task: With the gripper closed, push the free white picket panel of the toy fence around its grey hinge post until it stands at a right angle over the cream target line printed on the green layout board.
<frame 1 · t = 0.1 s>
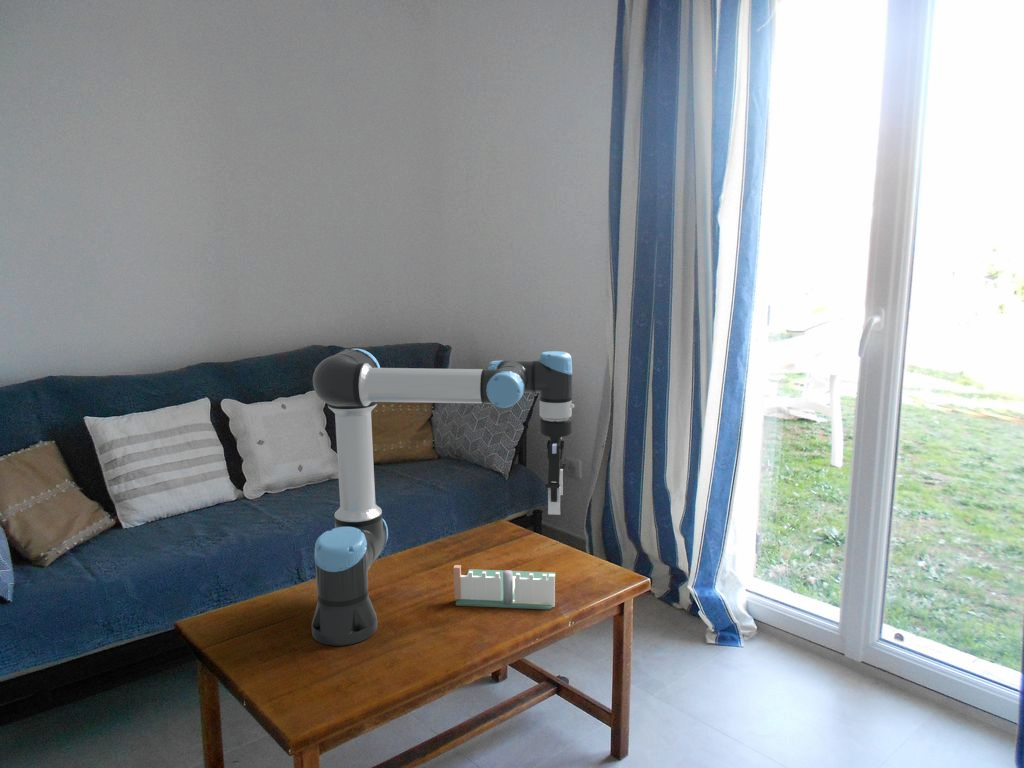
hand: (555, 504, 180), 28 cm above the table, fingers open, 13 cm apart
fixed fence: (508, 603, 189), resting on layout board
layout board: (507, 589, 197), on the table
folding panel: (477, 583, 188), point 5 cm above the table, hinge at 0.0°
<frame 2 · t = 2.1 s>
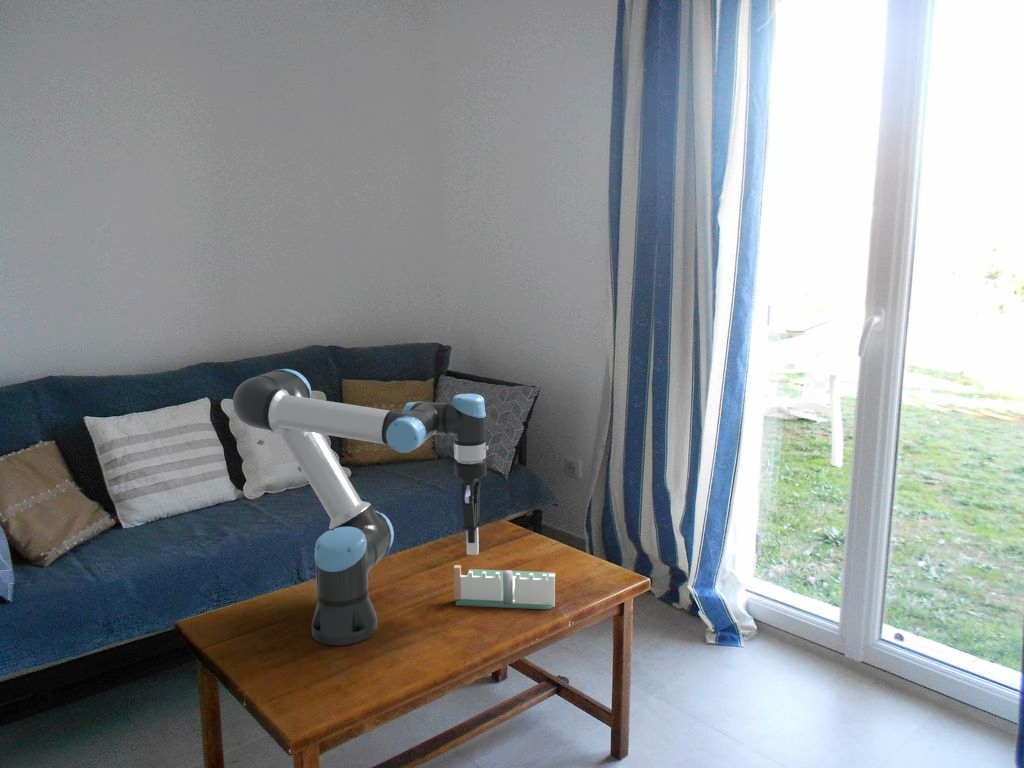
hand: (472, 553, 181), 16 cm above the table, fingers closed
nothing on the table moved.
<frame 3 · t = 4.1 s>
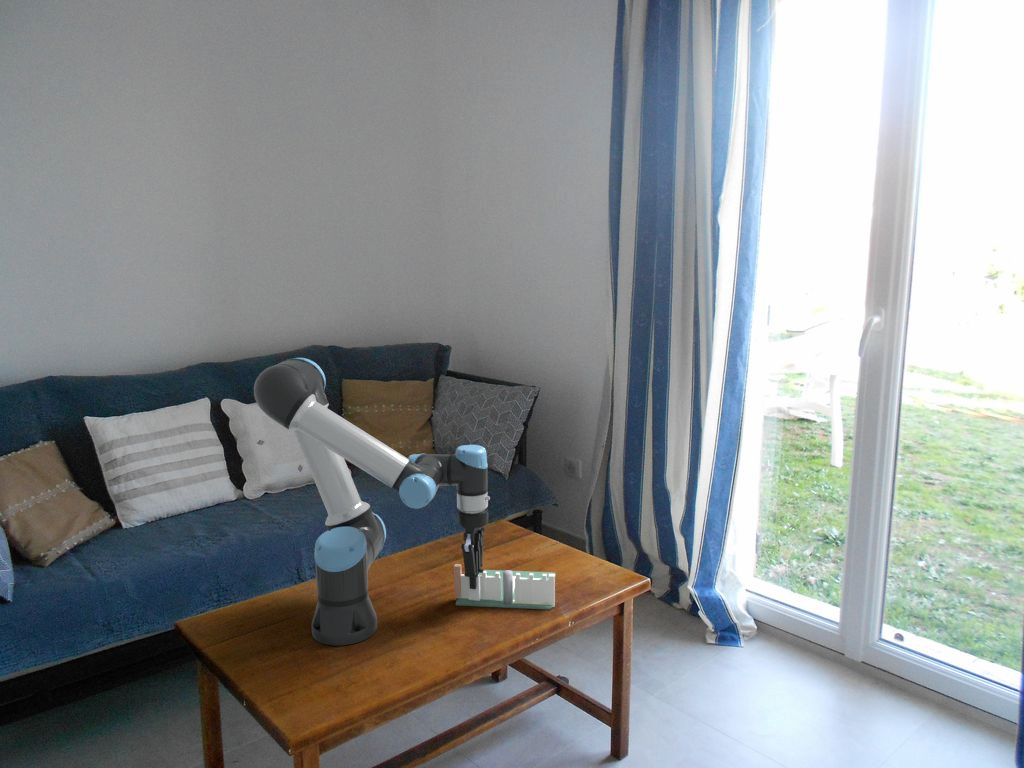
hand: (474, 598, 187), 2 cm above the table, fingers closed
folding panel: (477, 582, 189), point 5 cm above the table, hinge at 2.9°, touching gripper
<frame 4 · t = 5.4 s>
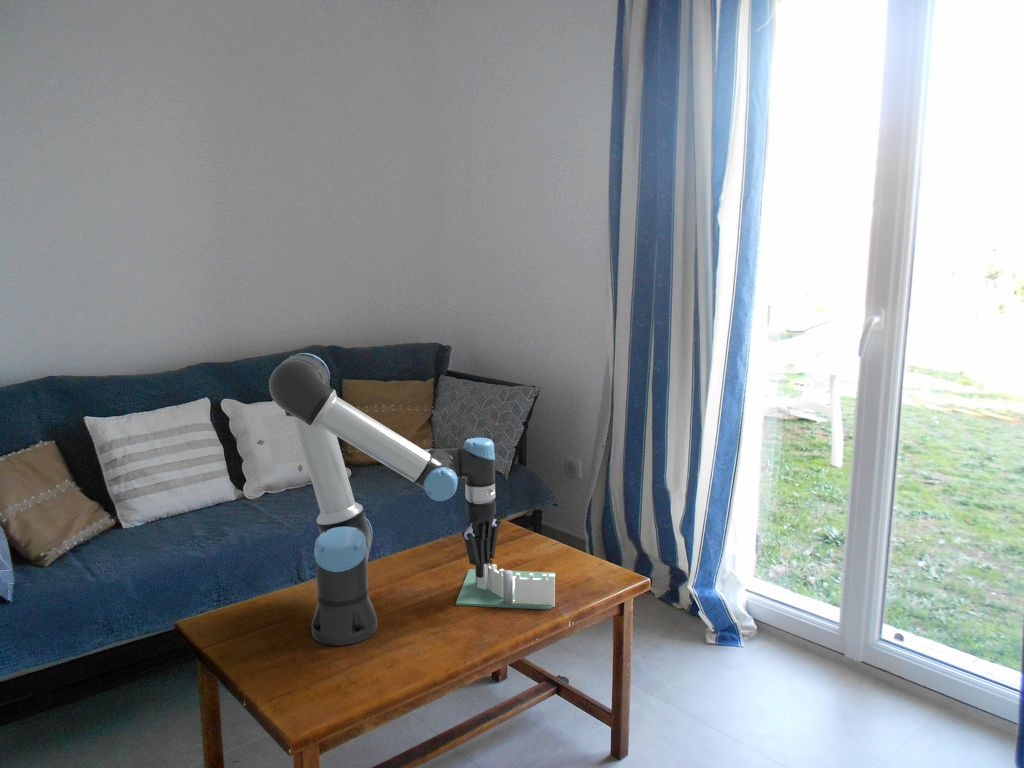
hand: (482, 587, 192), 2 cm above the table, fingers closed
folding panel: (490, 573, 194), point 5 cm above the table, hinge at 47.3°, touching gripper
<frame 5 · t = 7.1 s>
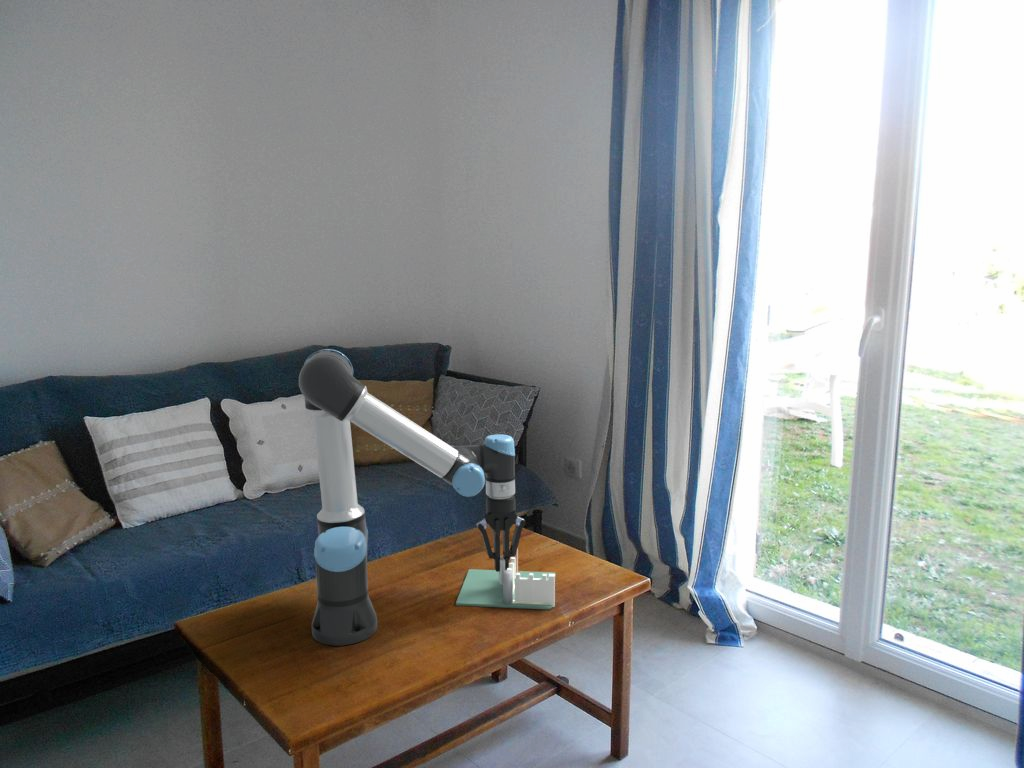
hand: (502, 582, 196), 2 cm above the table, fingers closed
folding panel: (512, 571, 195), point 5 cm above the table, hinge at 91.4°, touching gripper
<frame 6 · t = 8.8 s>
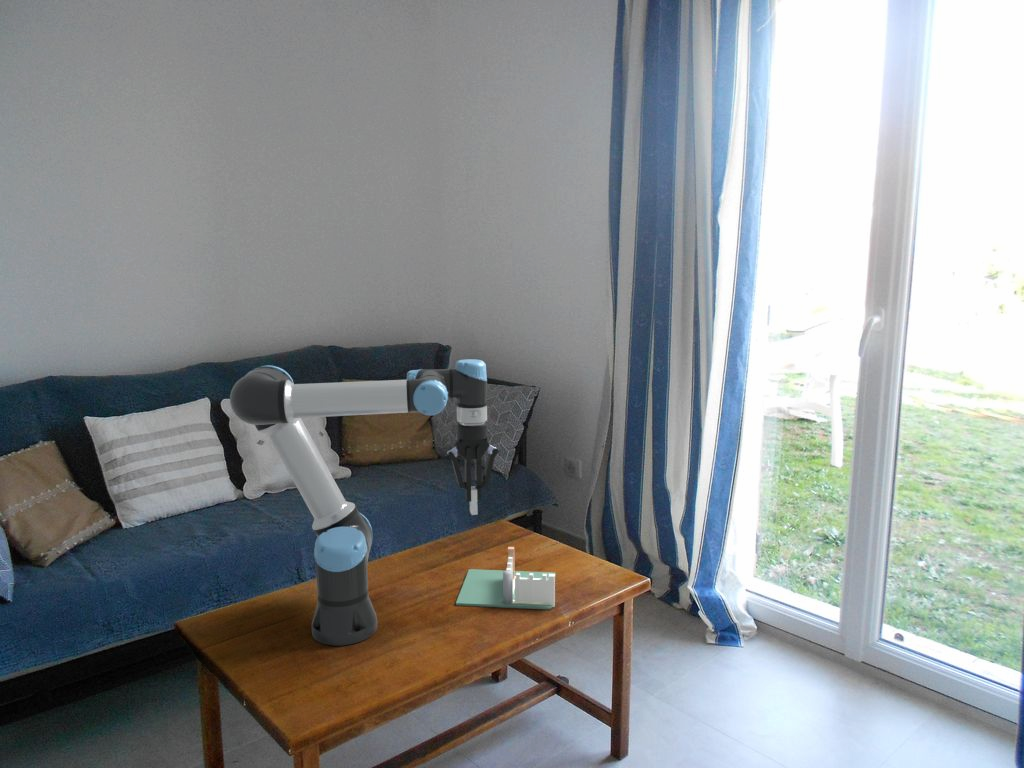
hand: (473, 512, 189), 22 cm above the table, fingers closed
folding panel: (510, 571, 195), point 5 cm above the table, hinge at 87.4°
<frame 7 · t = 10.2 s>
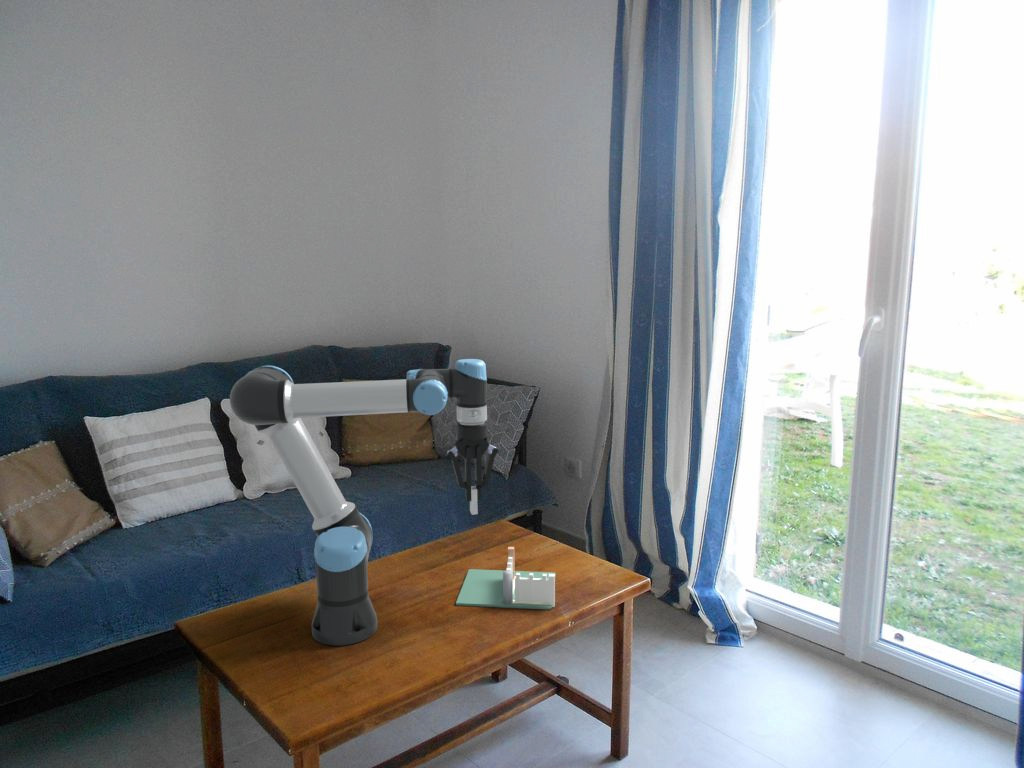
hand: (473, 512, 189), 22 cm above the table, fingers closed
nothing on the table moved.
at the end: folding panel at +87° (first picture: +0°) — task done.
